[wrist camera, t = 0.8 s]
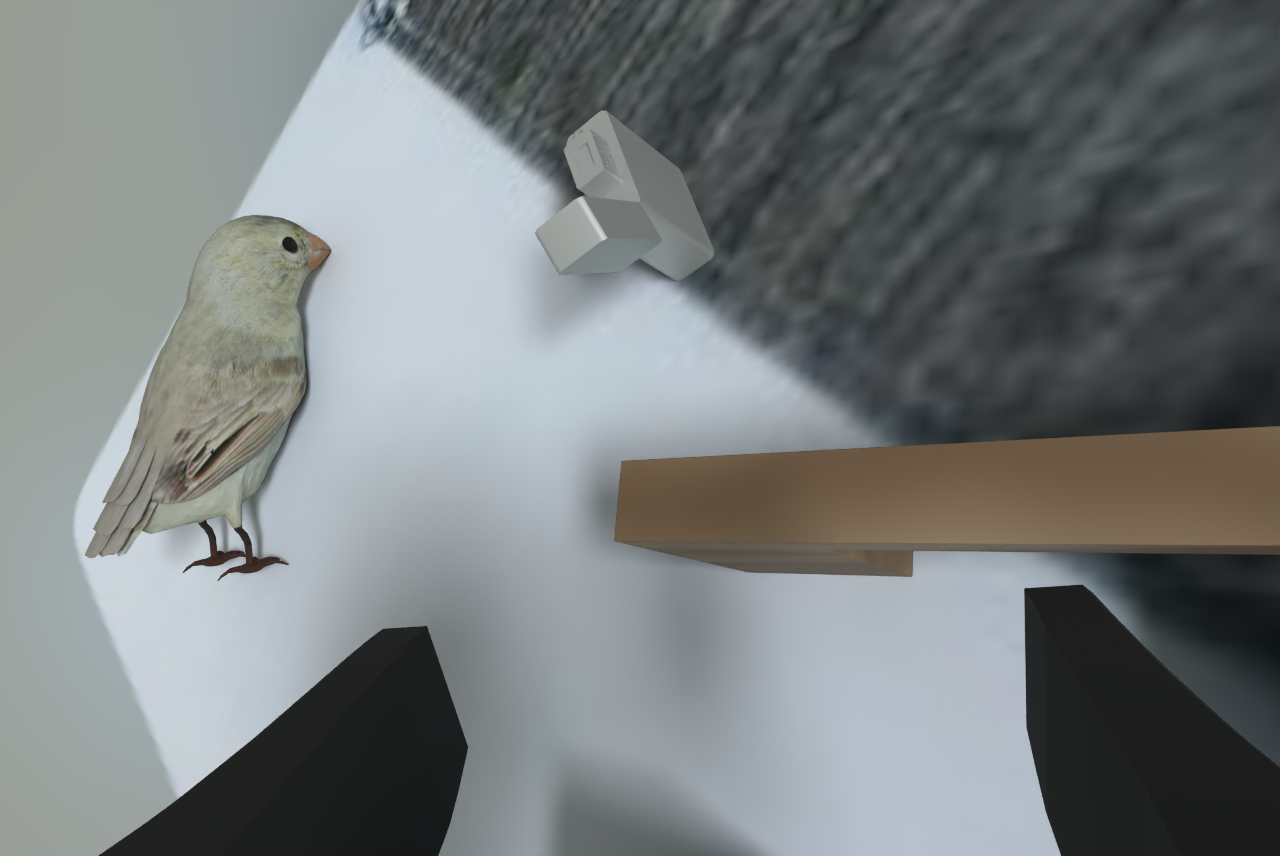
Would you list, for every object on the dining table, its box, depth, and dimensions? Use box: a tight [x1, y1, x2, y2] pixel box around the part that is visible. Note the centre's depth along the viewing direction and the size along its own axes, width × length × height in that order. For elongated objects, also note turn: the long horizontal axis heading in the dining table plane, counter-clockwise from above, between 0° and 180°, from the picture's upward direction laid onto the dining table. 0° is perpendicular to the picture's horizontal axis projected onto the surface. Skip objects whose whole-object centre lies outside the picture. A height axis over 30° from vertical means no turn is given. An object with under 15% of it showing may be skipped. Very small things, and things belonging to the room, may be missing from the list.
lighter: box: [535, 111, 715, 281], centre depth 30 cm, size 7×2×8 cm, turn 21°
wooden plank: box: [614, 426, 1280, 577], centre depth 20 cm, size 2×22×7 cm, turn 84°
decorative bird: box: [85, 215, 331, 581], centre depth 42 cm, size 5×16×8 cm, turn 169°
